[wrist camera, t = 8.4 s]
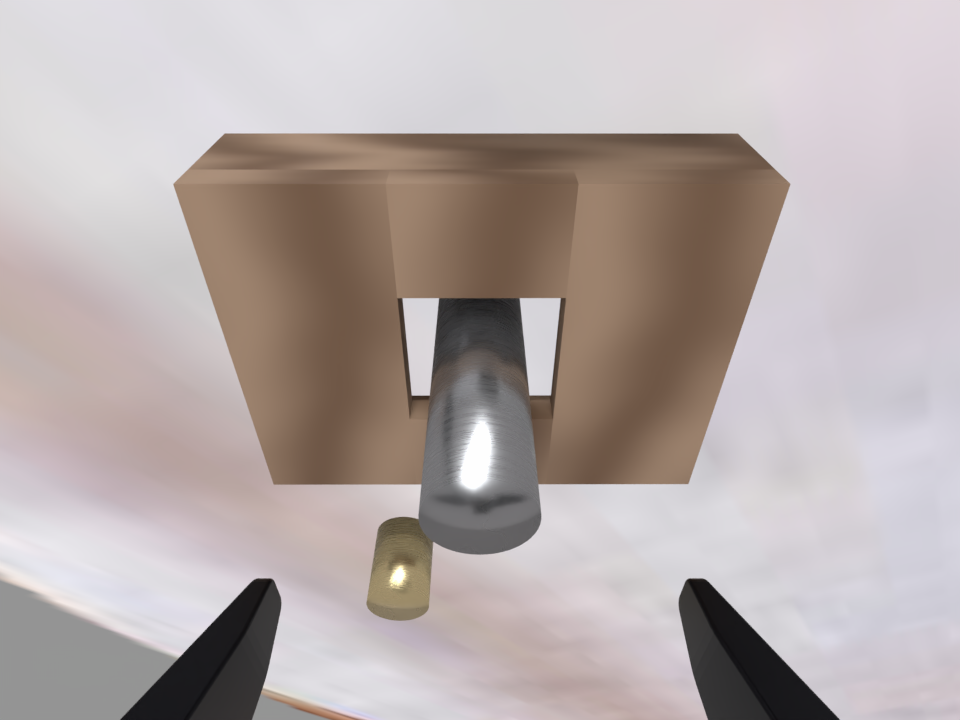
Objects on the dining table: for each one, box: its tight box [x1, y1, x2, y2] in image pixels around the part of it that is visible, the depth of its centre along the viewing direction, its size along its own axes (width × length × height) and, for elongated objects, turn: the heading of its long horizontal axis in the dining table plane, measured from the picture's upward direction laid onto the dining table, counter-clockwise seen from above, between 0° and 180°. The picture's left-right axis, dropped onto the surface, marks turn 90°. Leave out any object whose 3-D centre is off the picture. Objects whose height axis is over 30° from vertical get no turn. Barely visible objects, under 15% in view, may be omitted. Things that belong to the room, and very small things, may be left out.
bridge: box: [173, 133, 790, 485], centre depth 21 cm, size 16×12×4 cm
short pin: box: [366, 517, 433, 621], centre depth 30 cm, size 3×3×4 cm
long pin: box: [418, 298, 541, 555], centre depth 18 cm, size 3×3×10 cm
